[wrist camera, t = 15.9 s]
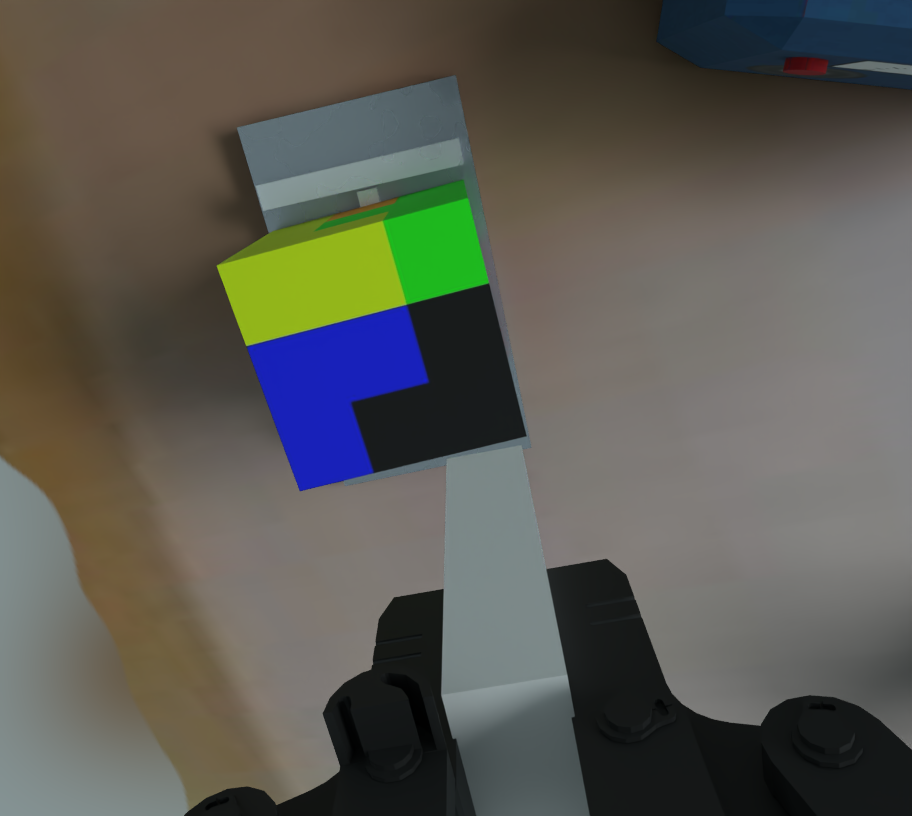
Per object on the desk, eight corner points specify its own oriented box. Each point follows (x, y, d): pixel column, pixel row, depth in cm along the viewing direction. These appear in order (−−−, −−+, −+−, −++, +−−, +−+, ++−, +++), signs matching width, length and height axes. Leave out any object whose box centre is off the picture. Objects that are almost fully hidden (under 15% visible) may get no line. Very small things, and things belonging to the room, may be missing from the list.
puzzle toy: (332, 409, 42) (299, 491, 33) (272, 231, 39) (216, 265, 30) (509, 365, 42) (526, 436, 32) (463, 179, 38) (468, 197, 29)
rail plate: (243, 127, 39) (226, 127, 36) (455, 76, 38) (456, 72, 35) (347, 477, 46) (341, 500, 43) (529, 439, 45) (534, 460, 42)
